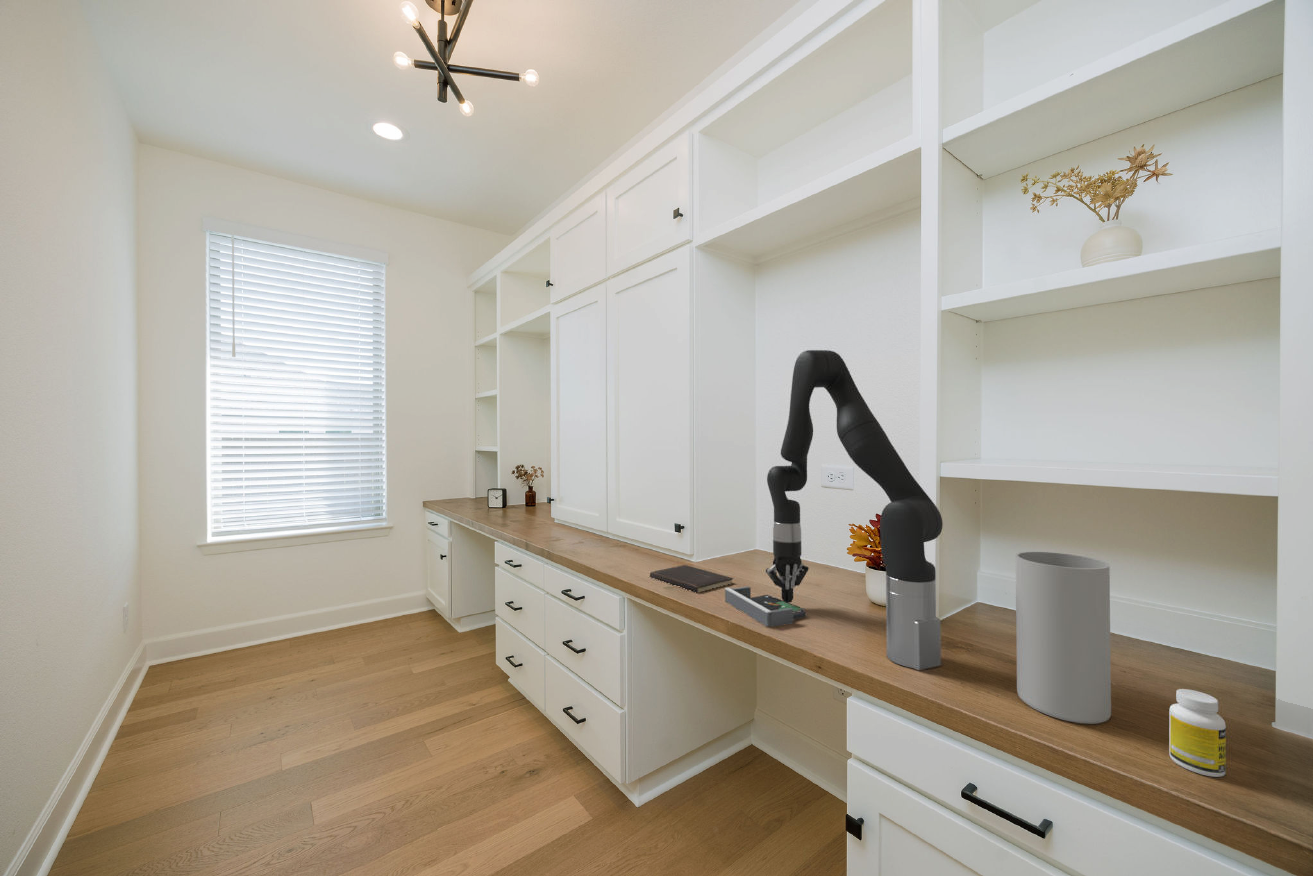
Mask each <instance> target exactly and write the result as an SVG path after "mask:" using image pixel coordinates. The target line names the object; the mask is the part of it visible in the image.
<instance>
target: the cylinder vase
mask: <svg viewBox="0 0 1313 876" xmlns="http://www.w3.org/2000/svg"><path fill="white" fill-rule="evenodd" d="M1110 571H1111V569H1110V564H1109V563H1108V562H1106V561H1102V560H1099V559H1096V558H1092V557H1087V556H1082V555H1076V554H1075V555H1074V554H1069V553H1068V554H1067V553H1062V552H1061V553H1060V552H1049V551H1021V552H1017V553H1015V609H1016V610H1015V612H1016V614H1015V615H1016V619H1015V620H1016V624H1015V626H1016V630H1015V632H1016V692H1017V695H1018V696H1019V698H1020V700H1021V701H1022V702H1024V703H1025V704H1026V705H1027V706H1029V707H1031V709H1034V710H1036V711H1038V712H1040V713H1041V714H1045V715H1047V716H1049V717H1053V718H1055V719H1059V720H1062V721H1066V722H1070V723H1075V724H1082V725H1083V724H1084V725H1085V724H1087V725H1096V724H1097V725H1098V724H1102V723H1105V722H1107V721H1108V720H1109V719H1110V718H1111V716H1112V687H1111V686H1112V681H1111V677H1112V673H1111V671H1112V670H1111V665H1112V664H1111V661H1112V660H1111V595H1110V594H1111V592H1110V590H1111V588H1110V587H1111V586H1110V585H1111V584H1110V583H1111V581H1110V579H1111V578H1110V573H1111V572H1110Z"/></svg>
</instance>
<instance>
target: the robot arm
mask: <svg viewBox="0 0 1313 876" xmlns="http://www.w3.org/2000/svg"><path fill="white" fill-rule="evenodd" d="M815 388H817V389H818V388H824V389H825V391H827V393H828V395H830V397H831V399H832V400H833V402H834V404H835V408H836V433H837V437H838V438H839V441H840V443H841V444H842V447H844V450H845V451H846V452H847V454H848V457H849V458H850V459H851V460H852V461H853V463H854V464H855V465H856V466H857V467H858V468H859V469H860V470H861V471H862V472H864V473H865V474H866V475H867V476H869V477H870V478H871V479H872V480H873V481H875V483H876V484H878V486H879V487H881V488H882V490H883V491H884V493H885V494H886V495H887V497H888V499H889V501H890V502H889V503H888V504H886V505H885V507H884V508H883V510H882V511H881V515H880V522H879V530H880V548H881V558H882V562H883V563H884V566H885V593H886V594H885V607H886V609H885V610H886V611H885V612H886V613H885V614H886V615H885V616H886V621H885V622H886V623H885V624H886V631H885V632H886V656H887V658H888V659H889V660H890V661H891V662H893V663H895V664H897V665H901V666H904V667H906V668H911V669H914V670H917V671H923V670H927V669H931V668H937V667H940V666H942V659H941V658H942V653H941V652H942V651H941V650H942V649H941V648H942V647H941V645H942V644H941V643H942V642H941V641H942V640H941V636H942V635H941V634H942V633H941V624H942V623H941V619H940V618H939V617H938V616H937V607H936V606H937V604H936V603H937V600H936V599H937V597H936V596H937V594H936V593H937V590H936V589H937V587H936V585H937V584H936V581H937V579H936V578H937V577H936V576H937V575H936V574H937V573H936V567H935V565H934V563H932V562H930V561H928V560H927V559H926V553H925V552H926V551H925V543H926V542H930V541H933V540H935V539H937V538H939V536H940V534H941V533H942V530H943V526H944V525H943V518H942V515H941V512H940V510H939V508H938V507H937V505H936V504H935V503H934V502H933V500H932V499H931V498H930V496H929V495H928V494H927V493H926V491H925V490H924V488H923V487H922V486H921V485H920V484H919V483H918V481H917V480H916V479H915V477H914V476H913V475H912V473H911V472H910V470H909V469H908V468H907V466H906V464H905V463H904V461H903V460H902V457H901V456H900V455H899V453H898V452H897V450H896V448H895V447H894V446H893V444H892V442H891V441H890V439H889V436H887V433H886V432H885V431H884V429H883V427H882V426H881V424H880V423H879V421H878V419H877V418H876V417H875V415H874V413H872V411H871V409H870V408H869V406H868V404H867V402H866V401H865V399H864V397H863V395H862V394H861V392H860V391H859V389H858V387H857V385H856V383H855V381H854V379H853V377H852V375H851V372H850V370H849V368H848V365H847V364H846V362H845V361H844V359H843V358H842V356H841V355H840V354H839V353H837V352H836V351H833V350H830V349H828V350H827V349H826V350H825V349H824V350H823V349H822V350H821V349H807V350H804V351H802V352H800V354H799V355H798V356H797V358H796V360H795V362H794V365H793V372H792V381H791V390H790V391H791V392H790V402H789V413H788V420H787V424H786V429H785V434H784V437H783V440H782V444H781V448H780V455H781V458H782V459H783V460H785V461H787V462H790V463H791V465H776V466H775V465H774V466H772V467H771V468H770V469H769V471H768V472H767V476H766V483H767V487H768V490H769V493H770V497H771V501H772V505H773V528H772V553H773V561H772V566H771V567H769V568H766V569H765V572H766V574H767V575H768V577H769V579H770V580H771V581H772V583H774V585H775V586H777V587H779V588H781V600H782V601H785V602H788V603H793V600H794V589H795V587H796V586H798V587H799V586H800V585H801V583H802V581H803V580H804V579H805V576H806V574H807V573H808V571H809V566H806V565H805V564H803V563H802V561H803V560H802V559H801V556H802V527H801V505H800V503H799V502H798V501H796V500H793V499H789V498H788V496H787V495H786V494H787V493H786V492H798V491H801V490H802V489H803V488H805V486H806V484H807V481H808V456H809V455H808V454H809V453H810V448H811V445H812V441H813V437H814V436H813V435H814V426H813V420H812V416H811V411H810V410H811V409H810V405H811V404H810V402H811V397H812V395H813V392H814V389H815Z"/></svg>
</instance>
